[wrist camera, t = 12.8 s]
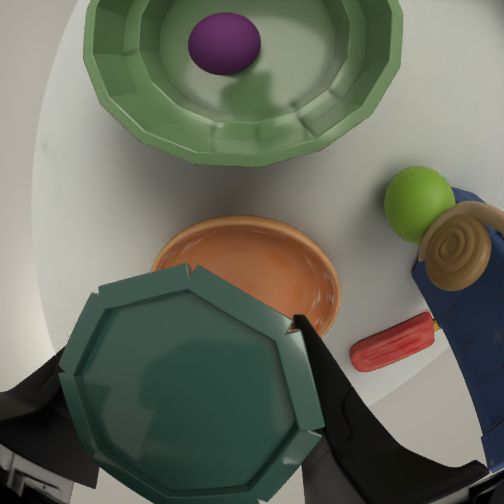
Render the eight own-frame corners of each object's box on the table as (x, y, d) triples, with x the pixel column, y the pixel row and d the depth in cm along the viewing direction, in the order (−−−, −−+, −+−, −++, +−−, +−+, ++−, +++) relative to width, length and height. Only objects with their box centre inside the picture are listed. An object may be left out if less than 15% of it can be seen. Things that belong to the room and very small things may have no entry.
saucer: (196, 167, 19) (185, 181, 16) (370, 258, 22) (381, 281, 20) (141, 305, 27) (132, 326, 25) (275, 356, 31) (275, 378, 28)
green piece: (197, 402, 17) (111, 505, 4) (173, 313, 18) (44, 300, 6) (291, 382, 17) (339, 487, 5) (266, 290, 18) (276, 238, 6)
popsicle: (463, 328, 26) (359, 376, 31) (459, 321, 27) (358, 368, 32) (464, 300, 23) (346, 356, 28) (459, 292, 24) (344, 346, 29)
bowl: (343, 148, 17) (380, 183, 12) (141, 136, 17) (88, 167, 12) (359, -30, 9) (398, -68, 4) (150, -36, 9) (104, -70, 4)
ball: (224, 60, 15) (211, 97, 14) (185, 22, 12) (163, 56, 11) (277, 38, 13) (271, 73, 12) (239, -8, 10) (223, 18, 9)
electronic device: (444, 278, 23) (523, 452, 7) (406, 275, 23) (483, 478, 7) (479, 195, 18) (616, 366, 2) (442, 183, 18) (603, 391, 2)
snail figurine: (449, 176, 18) (547, 264, 8) (403, 232, 21) (472, 344, 11) (410, 133, 16) (530, 205, 6) (360, 196, 19) (433, 315, 9)
